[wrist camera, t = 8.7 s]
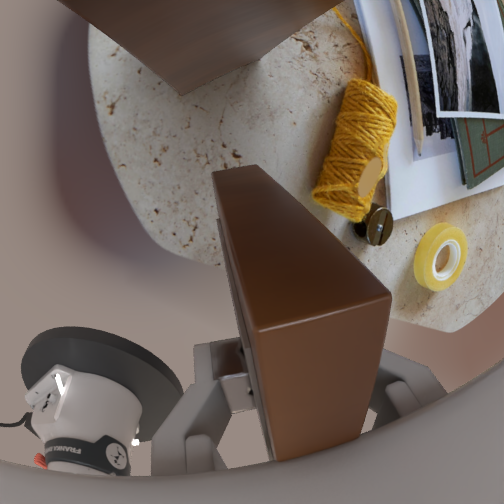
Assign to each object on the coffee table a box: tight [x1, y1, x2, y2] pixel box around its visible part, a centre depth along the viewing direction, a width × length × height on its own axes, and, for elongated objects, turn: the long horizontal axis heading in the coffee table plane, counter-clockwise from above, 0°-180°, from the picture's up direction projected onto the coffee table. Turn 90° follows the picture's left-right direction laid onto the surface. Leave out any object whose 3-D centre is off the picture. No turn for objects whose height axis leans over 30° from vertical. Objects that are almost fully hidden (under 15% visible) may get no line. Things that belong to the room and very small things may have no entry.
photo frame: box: [211, 164, 392, 462], centre depth 9 cm, size 2×10×8 cm, turn 7°
